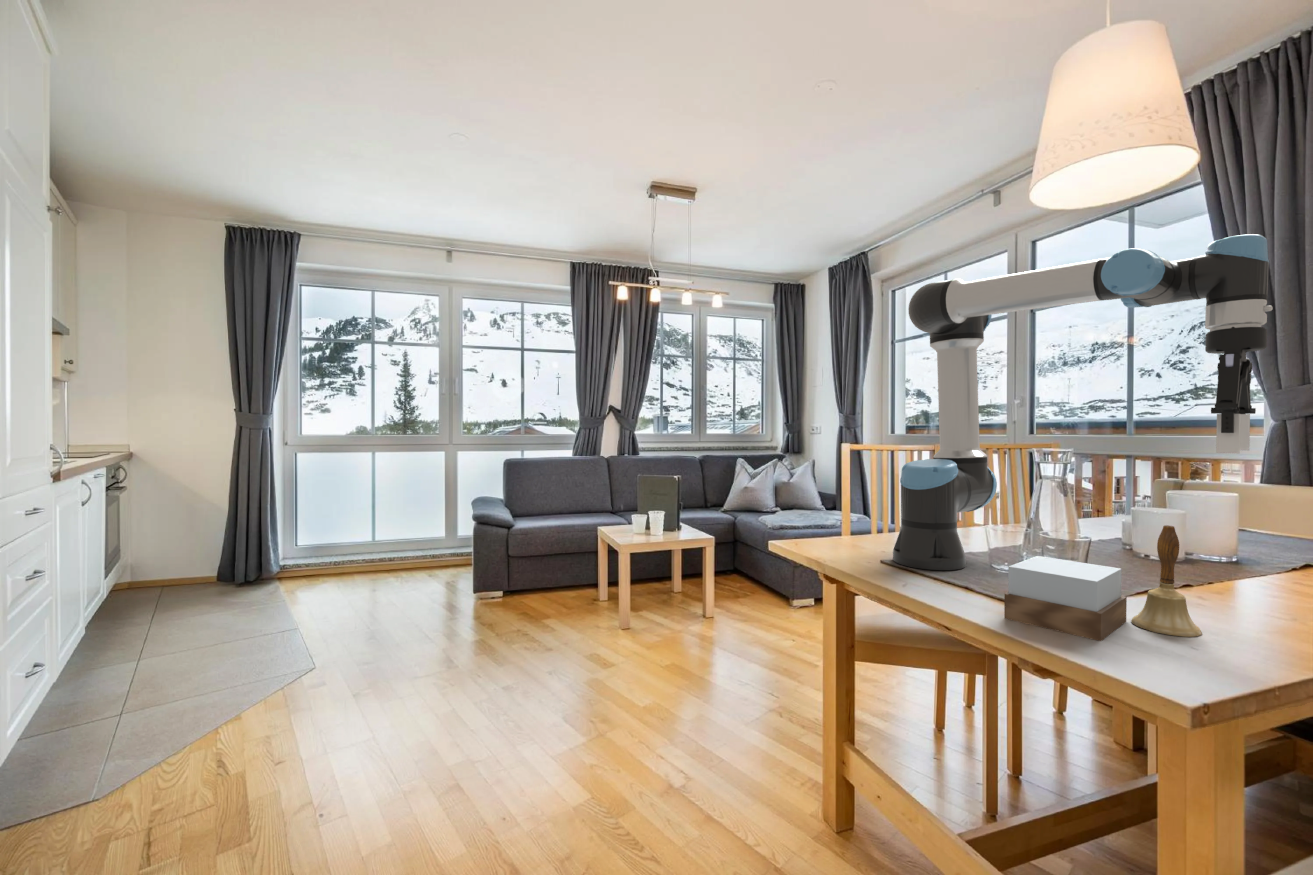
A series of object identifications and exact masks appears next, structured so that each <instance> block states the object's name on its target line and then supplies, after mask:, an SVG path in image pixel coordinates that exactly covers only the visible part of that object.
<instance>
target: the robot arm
mask: <svg viewBox="0 0 1313 875" xmlns="http://www.w3.org/2000/svg"><path fill="white" fill-rule="evenodd" d="M1206 248H1207V249H1206V251H1205V254H1203V255H1199V256H1195V257H1191V258H1185V259H1178V260H1171V261H1170V260H1168V259H1166V258H1163V257H1162V256H1160V255H1158V254H1156V252H1153V251H1151V250H1149V249H1143V248H1134V247H1133V248H1126V249H1123V250H1120V251H1117V252H1116V253H1114V254H1112V256H1109V257H1104V258H1098V259H1092V260H1086V261H1081V262H1074V263H1069V264H1063V265H1058V266H1057V265H1056V266H1052V267H1046V268H1041V269H1035V270H1028V271H1024V272H1023V271H1022V272H1017V273H1011V274H1006V275H999V276H992V277H987V278H981V279H976V280H972V281H971V280H970V281H964V280H963V279H961V278H953V279H948V280H940V281H935V282H930V283H927V284H924V285H923V286H921V287H920V288H919V289H917V290H916V291H915V292H914V293H913V295H912V296H911V298H910V301H909V304H908V317H909V319H910V322H911V323H912V324H913V325H914V327H915V328H917V330H920V331H922V332H924V333H928V334H929V347H931V348H932V350H934V351H936V360H937V361H936V362H937V390H938V391H937V392H938V393H937V394H938V395H937V396H938V398H937V399H938V425H939V427H938V429H939V430H938V431H939V434H938V435H939V450H938V451H937V452H936V453H935V454H934V455H933V458H927V459H918V460H917V459H916V460H913V461H908V462H906V463H905V464H904V465H902V468H901V475H900V479H899V481H900V482H899V483H900V514H901V515H900V530H899V533H898V535H897V538H896V541H895V544H894V546H893V550H892V560H893V562H895V563H896V564H899V565H901V566H905V567H909V568H915V569H921V570H930V571H955V570H961V569H964V568H966V567H967V566H966V564H967V562H966V560H967V559H966V558H967V557H966V553H965V550H964V547H963V545H962V541H961V539H960V536H959V532H958V513H964V512H966V513H969V512H973V511H976V510H979V509H981V508H984V507H986V506H987V505H988V504H989V503H990V502H991V501H992V500H993V499H994V497H995V495H996V492H997V489H998V488H997V485H998V484H997V483H998V482H997V477H996V475H995V474H994V472H993V471H992V470H991V469H990V467H989V466H988V464H989V463H988V454H986V453H985V452H984V451H983V450H981V446H980V445H981V444H980V443H981V442H980V419H979V418H980V415H979V413H980V412H979V411H980V410H979V387H978V386H979V382H978V378H979V376H978V350H977V349H978V348H979V347H980V346H981V345H982V344H983V343H984V340H985V336H984V335H985V334H984V332H985V331H986V329H987V327H989V325H990V324H991V320H992V316H993V315H998V314H1004V313H1012V312H1015V313H1016V312H1021V311H1029V310H1037V309H1038V310H1039V309H1044V308H1045V309H1046V308H1052V307H1060V306H1068V305H1075V304H1076V305H1077V304H1082V303H1091V302H1100V301H1101V302H1102V301H1111V300H1119V299H1120V301H1121V302H1122V304H1123V305H1124V306H1125V307H1126V308H1129V309H1133V308H1143V307H1144V308H1150V307H1152V306H1159V305H1160V306H1161V305H1164V304H1165V305H1166V304H1172V303H1180V302H1181V303H1182V302H1188V301H1193V300H1203V299H1205V301H1206V302H1205V303H1206V304H1205V305H1206V306H1205V324H1204V327H1205V329H1206V330H1209V331H1207V333H1205V340H1204V341H1205V343H1204V344H1205V345H1204V346H1205V348H1204V350H1205V352H1206V353H1208V354H1211V355H1212V354H1215V355H1216V354H1217V355H1218V354H1220V355H1219V356H1218V361H1219V362H1218V363H1217V372H1218V373H1217V388H1216V399H1215V404H1214V407H1210V414H1211V415H1212V414H1216V438H1215V440H1216V441H1215V442H1216V445H1215V446H1216V447H1215V448H1216V450H1215V453H1216V454H1240V451H1247V452H1249V451H1250V446H1251V445H1250V443H1251V441H1250V440H1251V439H1250V438H1251V437H1250V436H1251V434H1250V432H1251V415H1252V414H1253V415H1254V414H1256V411H1257V410H1256V409H1257V408H1256V407H1253V408H1252V406H1253V405H1252V402H1251V382H1252V371H1253V362H1252V361H1251V360H1250V358H1249V357H1248V358H1247V353H1248V352H1249V353H1250V352H1259V351H1263V350H1265V349H1266V348H1267V346H1268V343H1267V342H1268V329H1267V328H1266V327H1265V326H1264V325H1265V324H1267V322H1268V321H1267V320H1268V319H1267V318H1268V314H1267V312H1272V310H1273V306H1272V305H1267V304H1268V291H1269V290H1268V288H1269V286H1268V285H1269V266H1270V265H1269V264H1270V260H1269V253H1268V252H1269V251H1268V239H1267V238H1266V237H1265V236H1263V235H1262V234H1254V233H1252V234H1251V233H1250V234H1240V235H1239V234H1238V235H1233V236H1228V237H1224V238H1222V239H1220V238H1219V239H1217V240H1214V241H1211V242H1210V243H1209V244H1208V245H1207V247H1206Z"/></svg>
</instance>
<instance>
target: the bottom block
mask: <svg viewBox="0 0 1313 875" xmlns="http://www.w3.org/2000/svg"><path fill="white" fill-rule="evenodd" d="M1127 599H1128V598H1127V596H1124V595H1121V597H1120V598H1118V599H1117V600H1115V601H1114V602H1112V603H1110V604H1109V605H1107V606H1106V607H1104V608H1102V609H1101V610H1099V611H1098V612H1095V611H1090V610H1085V609H1080V608H1076V607H1071V606H1066V605H1061V604H1056V603H1051V602H1046V601H1042V600H1037V599H1032V598H1027V597H1022V596H1017V595H1012V594H1008V592H1005V593H1004V599H1003V600H1004V608H1003V609H1004V612H1003V614H1004V617H1003V618H1004V619H1006V620H1010V621H1014V622H1018V623H1022V624H1023V623H1024V624H1028V625H1031V626H1036V627H1040V628H1044V629H1048V630H1053V631H1057V632H1061V633H1065V634H1070V635H1072V636H1073V635H1074V636H1077V637H1081V638H1084V639H1085V638H1086V639H1089V640H1090V639H1091V640H1095V641H1099V642H1102V641H1103V640H1105V639H1106V638H1108V637H1109V635H1111V634H1113V633H1114V632H1115V631H1117V629H1119V628H1120V627H1122V626H1123V625H1124V624H1126V623H1127V606H1128V605H1127Z"/></svg>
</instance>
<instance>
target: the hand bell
mask: <svg viewBox="0 0 1313 875" xmlns="http://www.w3.org/2000/svg"><path fill="white" fill-rule="evenodd" d="M1156 550H1157V551H1156V552H1157V556H1158V559H1159V561H1160V574H1159V575H1160V576H1159V577H1160V578H1159V586H1158V587H1157V588H1152V589H1149V590H1148V591H1147V594H1146V600H1145V603H1144V606H1143V608H1142V609H1141V611H1140V612H1138V614H1137V615H1134V616H1133V617H1132V618H1131V620H1130V622H1131V623H1132V624H1133V625H1134V626H1136V627H1138V628H1141V629H1143V630H1146V631H1150V632H1153V633H1157V634H1162V635H1166V636H1174V637H1180V638H1181V637H1182V638H1196V637H1200V636H1202V635H1203V632H1202V630H1201V628H1200V627H1199V626H1197V625H1196V623H1195V622H1194V621H1193V619H1192V618H1191V616H1190V613H1189V610H1188V605H1187V598H1186V596H1185V595H1184V594H1183V593H1181V592H1179V591H1177V590H1176V589H1175V585H1174V584H1175V565H1176V562H1177V560H1178V558H1179V555H1180V554H1179V553H1180V541H1179V538H1178V535H1177V532H1176V527H1175V526H1173V525H1167V524H1166V525H1163V527H1162V530H1161V532H1160V534H1159V536H1158V539H1157V544H1156Z"/></svg>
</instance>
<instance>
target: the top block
mask: <svg viewBox="0 0 1313 875" xmlns="http://www.w3.org/2000/svg"><path fill="white" fill-rule="evenodd" d="M1007 570H1008V578H1007V579H1008V583H1007V584H1008V588H1007V590H1008V594H1012V595H1017V596H1022V597H1027V598H1032V599H1037V600H1042V601H1046V602H1051V603H1056V604H1061V605H1066V606H1071V607H1076V608H1080V609H1085V610H1090V611H1095V612H1098V611H1099V610H1101V609H1102V608H1104V607H1106V606H1107V605H1109V604H1110V603H1112V602H1114V601H1115V600H1117V599H1118V598H1120V597H1121V596H1122V585H1123V582H1122V579H1123V577H1122V572H1123V571H1122V568H1120V567H1113V566H1107V565H1100V564H1093V563H1088V562H1087V563H1086V562H1080V561H1075V560H1067V559H1061V558H1055V557H1047V556H1041V555H1036V556H1033V557H1031V558H1027V559H1025V560H1022V561H1020V562H1016V563H1014V564H1012V565H1008V569H1007Z"/></svg>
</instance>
